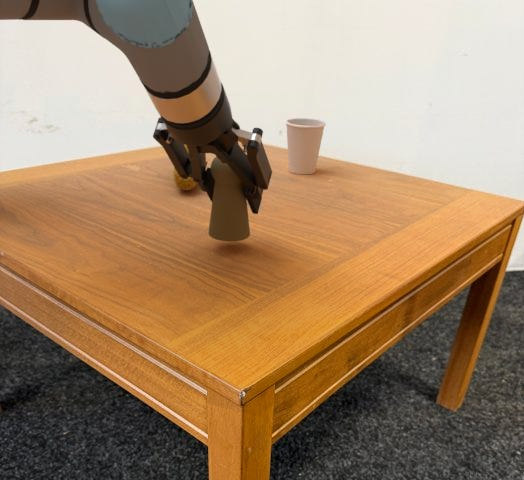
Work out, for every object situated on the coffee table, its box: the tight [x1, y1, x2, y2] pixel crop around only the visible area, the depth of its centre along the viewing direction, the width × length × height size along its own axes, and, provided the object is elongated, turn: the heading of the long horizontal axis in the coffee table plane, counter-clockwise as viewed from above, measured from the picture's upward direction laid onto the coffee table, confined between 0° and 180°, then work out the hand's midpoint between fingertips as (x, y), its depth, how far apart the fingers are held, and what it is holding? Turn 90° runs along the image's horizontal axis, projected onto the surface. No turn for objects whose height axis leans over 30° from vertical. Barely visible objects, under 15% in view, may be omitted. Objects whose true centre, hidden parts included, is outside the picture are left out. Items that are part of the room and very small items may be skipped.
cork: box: [208, 155, 251, 242], centre depth 77 cm, size 6×6×11 cm
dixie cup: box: [284, 117, 327, 175], centre depth 116 cm, size 8×8×10 cm
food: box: [173, 144, 198, 191], centre depth 108 cm, size 21×6×6 cm, turn 5°
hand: (238, 202), depth 81 cm, fingers closed on cork, 5 cm apart
